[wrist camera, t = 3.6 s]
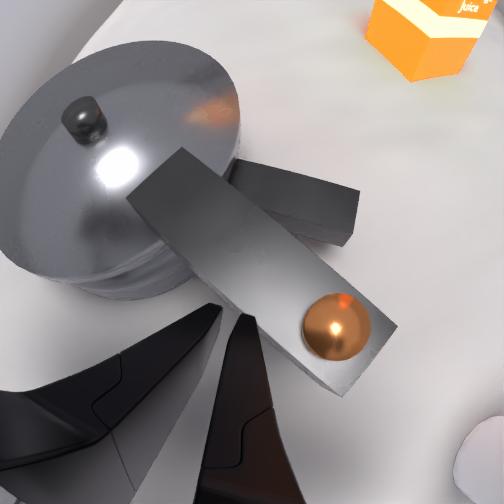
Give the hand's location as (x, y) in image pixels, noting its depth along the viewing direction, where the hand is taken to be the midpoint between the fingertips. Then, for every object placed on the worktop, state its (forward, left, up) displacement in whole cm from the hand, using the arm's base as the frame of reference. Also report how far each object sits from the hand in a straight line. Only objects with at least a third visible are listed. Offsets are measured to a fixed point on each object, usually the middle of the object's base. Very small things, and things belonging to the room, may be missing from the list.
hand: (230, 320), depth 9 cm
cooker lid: (+6, +6, -4) cm, 9 cm away
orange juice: (+29, -15, -10) cm, 34 cm away
